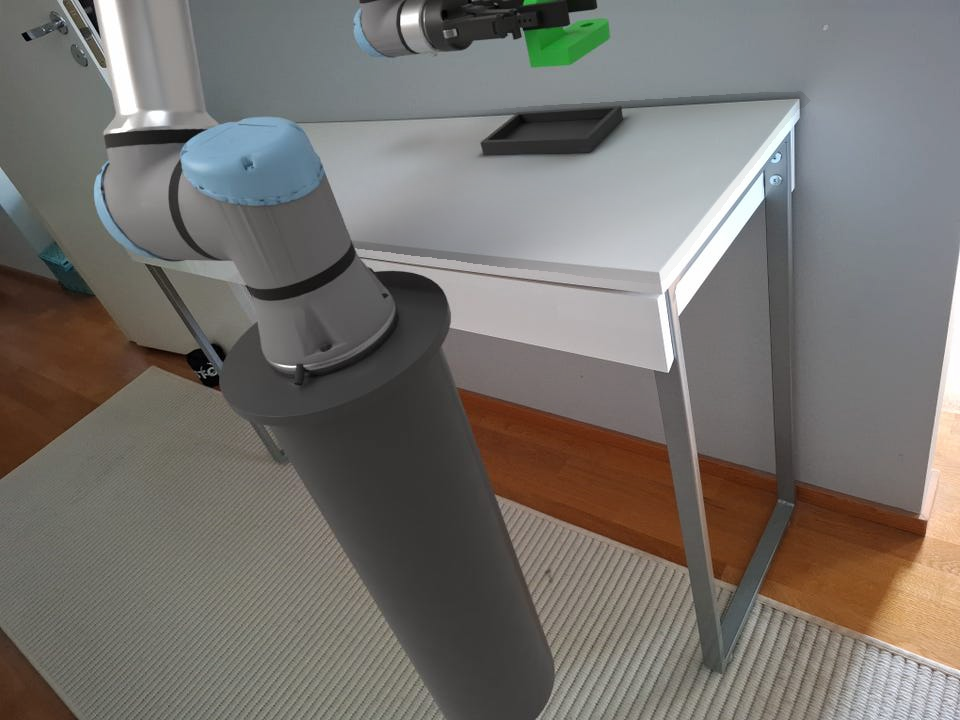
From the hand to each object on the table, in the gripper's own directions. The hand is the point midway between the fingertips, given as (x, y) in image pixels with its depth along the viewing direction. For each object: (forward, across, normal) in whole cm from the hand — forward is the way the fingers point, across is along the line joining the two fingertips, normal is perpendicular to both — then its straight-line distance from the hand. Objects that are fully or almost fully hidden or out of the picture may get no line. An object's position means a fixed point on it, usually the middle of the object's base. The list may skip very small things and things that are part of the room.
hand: (580, 4), depth 79 cm
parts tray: (-11, -4, -18) cm, 21 cm away
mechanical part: (-4, -3, -6) cm, 8 cm away
